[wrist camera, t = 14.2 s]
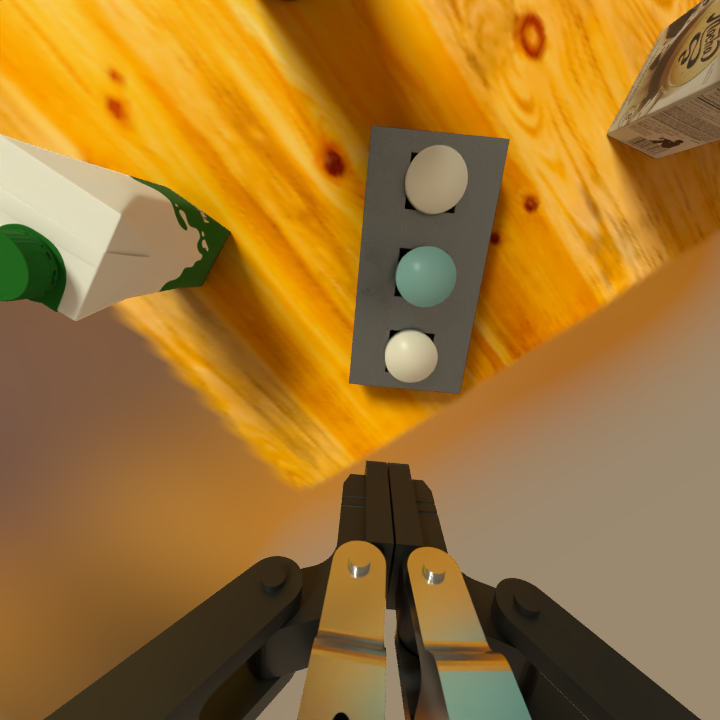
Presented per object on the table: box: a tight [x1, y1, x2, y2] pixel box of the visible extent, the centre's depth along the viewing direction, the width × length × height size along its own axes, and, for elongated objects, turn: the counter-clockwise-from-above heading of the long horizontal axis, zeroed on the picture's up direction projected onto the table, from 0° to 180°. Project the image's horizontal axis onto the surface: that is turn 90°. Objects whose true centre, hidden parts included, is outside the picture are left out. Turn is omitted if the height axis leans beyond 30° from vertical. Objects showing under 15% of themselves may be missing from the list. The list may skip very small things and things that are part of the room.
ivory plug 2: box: [385, 329, 438, 383], centre depth 37 cm, size 5×5×6 cm
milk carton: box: [0, 134, 230, 321], centre depth 28 cm, size 9×9×20 cm
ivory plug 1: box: [405, 145, 468, 215], centre depth 32 cm, size 5×5×6 cm
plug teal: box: [395, 246, 456, 307], centre depth 33 cm, size 5×5×6 cm
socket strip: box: [349, 126, 510, 394], centre depth 36 cm, size 24×12×5 cm, turn 175°
